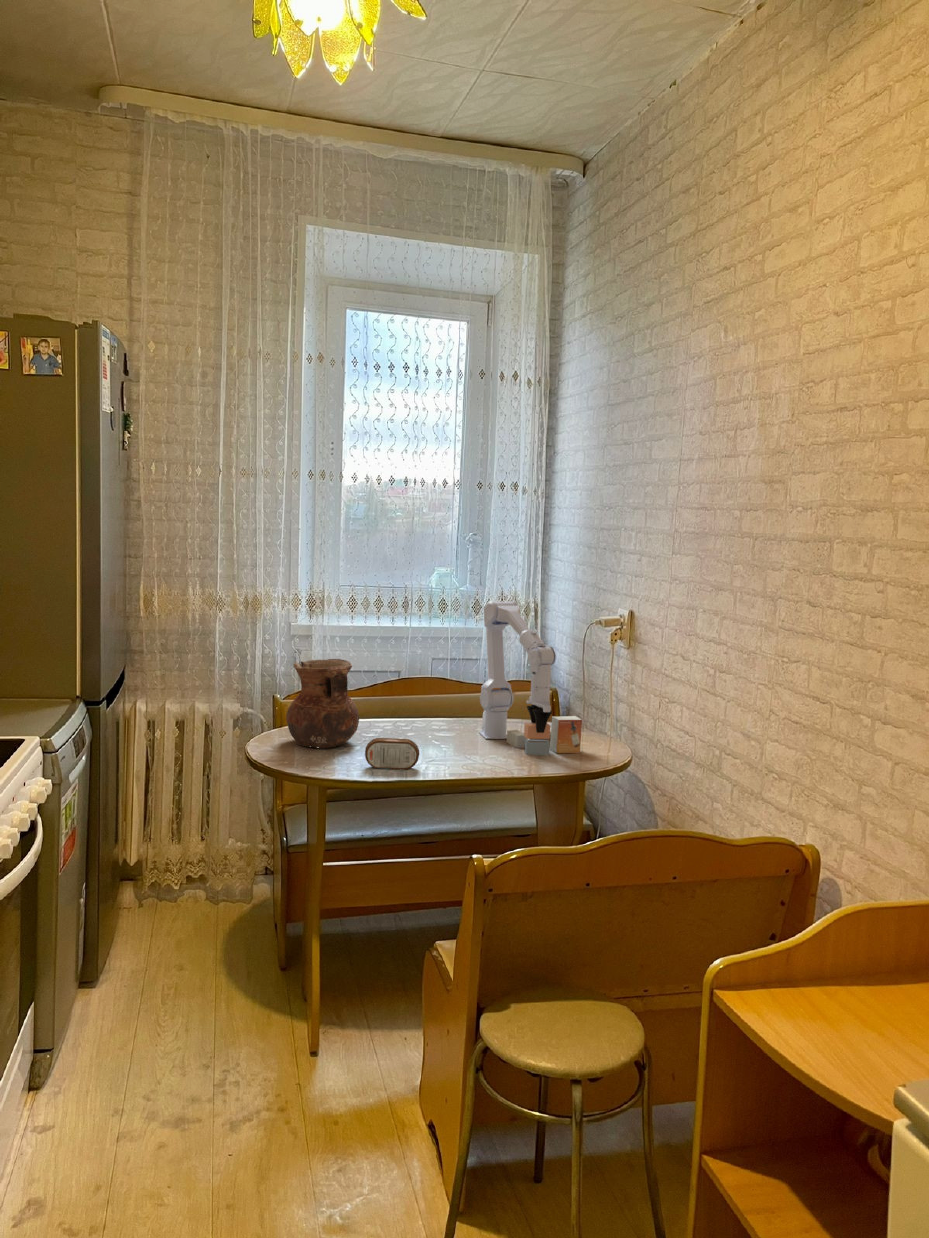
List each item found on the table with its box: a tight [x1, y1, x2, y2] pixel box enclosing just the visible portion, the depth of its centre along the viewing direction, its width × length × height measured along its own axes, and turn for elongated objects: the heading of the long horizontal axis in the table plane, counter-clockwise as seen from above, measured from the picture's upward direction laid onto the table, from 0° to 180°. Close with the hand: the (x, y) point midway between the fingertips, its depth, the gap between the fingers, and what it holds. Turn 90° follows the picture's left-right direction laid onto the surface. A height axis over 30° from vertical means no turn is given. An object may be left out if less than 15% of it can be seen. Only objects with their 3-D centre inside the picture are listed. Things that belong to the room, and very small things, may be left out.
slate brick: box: [524, 739, 551, 756], centre depth 278 cm, size 4×7×4 cm, turn 93°
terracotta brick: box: [523, 722, 551, 740], centre depth 277 cm, size 4×7×4 cm, turn 104°
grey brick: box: [506, 729, 528, 749], centre depth 287 cm, size 4×7×4 cm, turn 24°
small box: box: [550, 715, 583, 754], centre depth 282 cm, size 8×6×10 cm
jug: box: [285, 658, 360, 749], centre depth 277 cm, size 22×21×25 cm
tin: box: [364, 737, 420, 771], centre depth 254 cm, size 15×3×8 cm, turn 93°
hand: (538, 730), depth 277 cm, fingers closed on terracotta brick, 3 cm apart
